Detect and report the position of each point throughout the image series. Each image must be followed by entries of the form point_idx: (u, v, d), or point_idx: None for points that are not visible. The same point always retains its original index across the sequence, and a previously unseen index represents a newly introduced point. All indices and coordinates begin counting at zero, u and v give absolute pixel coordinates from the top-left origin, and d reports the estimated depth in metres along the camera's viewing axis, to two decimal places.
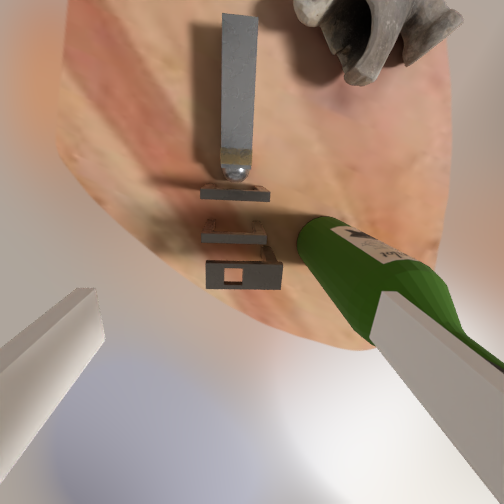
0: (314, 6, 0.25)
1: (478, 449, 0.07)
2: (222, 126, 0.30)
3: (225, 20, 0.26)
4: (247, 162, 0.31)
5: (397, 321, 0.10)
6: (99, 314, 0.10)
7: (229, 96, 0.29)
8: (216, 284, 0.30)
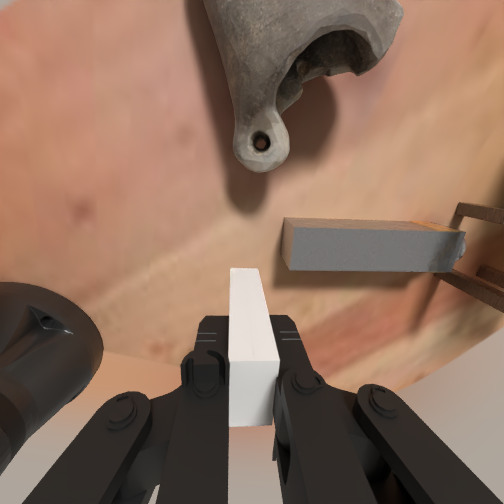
0: (279, 142, 0.16)
1: None
2: (404, 270, 0.22)
3: (296, 266, 0.21)
4: (455, 237, 0.22)
5: None
6: None
7: (373, 261, 0.22)
8: None
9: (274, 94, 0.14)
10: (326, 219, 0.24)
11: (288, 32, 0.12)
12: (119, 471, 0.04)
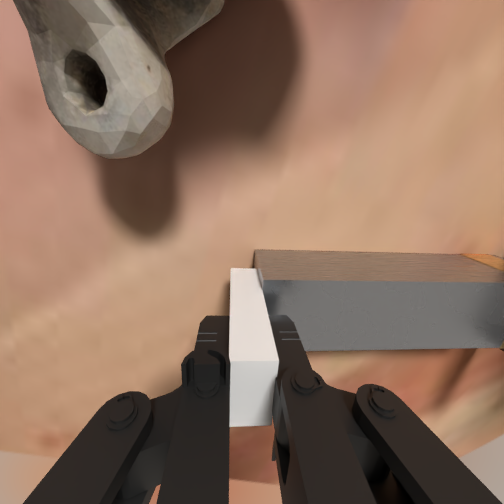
0: (125, 82, 0.07)
1: None
2: (461, 346, 0.13)
3: None
4: None
5: None
6: None
7: (408, 333, 0.12)
8: None
9: None
10: (325, 253, 0.14)
11: None
12: (120, 471, 0.04)
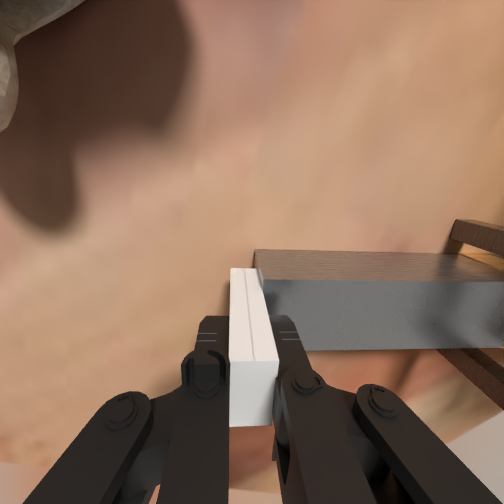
0: None
1: None
2: (462, 345, 0.13)
3: None
4: None
5: None
6: None
7: (408, 333, 0.12)
8: None
9: None
10: (325, 253, 0.14)
11: None
12: (120, 471, 0.04)
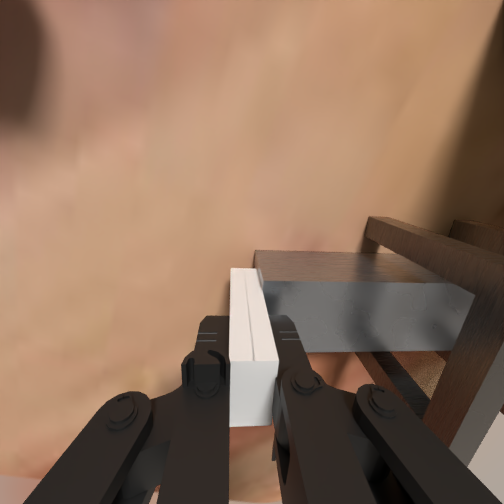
0: None
1: None
2: None
3: None
4: None
5: None
6: None
7: (409, 335, 0.12)
8: None
9: None
10: (326, 254, 0.14)
11: None
12: (120, 471, 0.04)
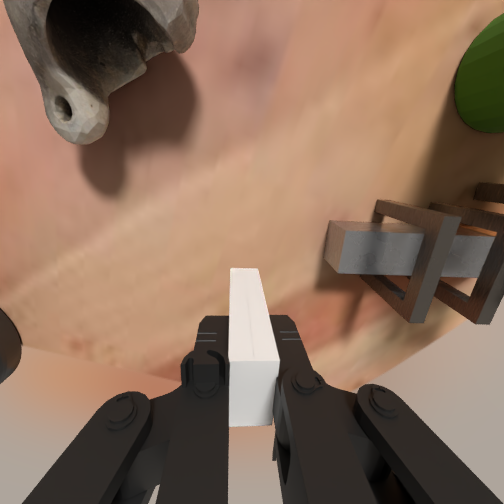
0: (79, 111, 0.15)
1: None
2: (454, 275, 0.22)
3: (345, 269, 0.21)
4: None
5: None
6: None
7: None
8: None
9: (46, 52, 0.13)
10: (372, 223, 0.24)
11: None
12: (119, 471, 0.04)
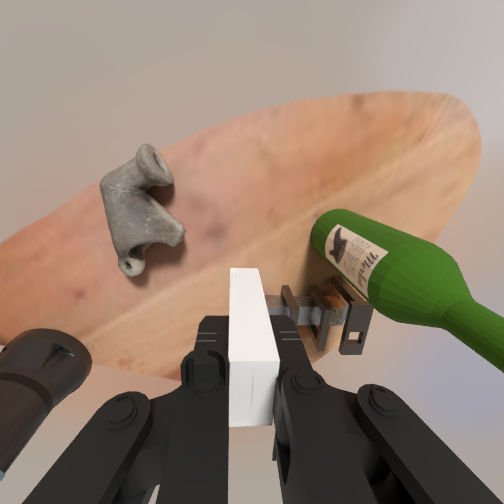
0: (135, 268, 0.37)
1: None
2: (318, 324, 0.45)
3: None
4: (341, 309, 0.44)
5: None
6: None
7: (301, 320, 0.44)
8: (359, 348, 0.40)
9: (126, 255, 0.35)
10: (280, 296, 0.46)
11: (125, 243, 0.33)
12: (119, 471, 0.04)
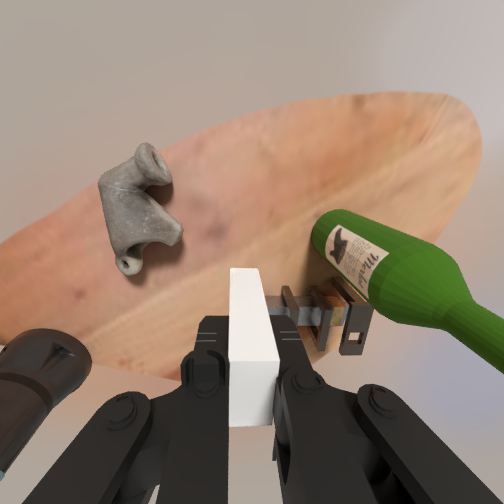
0: (132, 267, 0.37)
1: None
2: (318, 324, 0.45)
3: None
4: (342, 310, 0.44)
5: None
6: None
7: (301, 321, 0.44)
8: (359, 348, 0.40)
9: (124, 254, 0.35)
10: (280, 296, 0.46)
11: (122, 242, 0.33)
12: (119, 471, 0.04)
